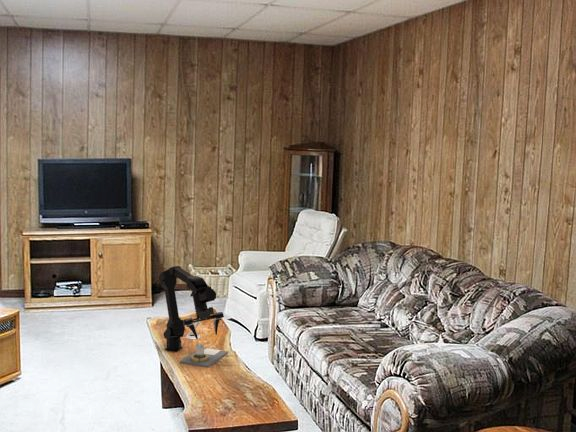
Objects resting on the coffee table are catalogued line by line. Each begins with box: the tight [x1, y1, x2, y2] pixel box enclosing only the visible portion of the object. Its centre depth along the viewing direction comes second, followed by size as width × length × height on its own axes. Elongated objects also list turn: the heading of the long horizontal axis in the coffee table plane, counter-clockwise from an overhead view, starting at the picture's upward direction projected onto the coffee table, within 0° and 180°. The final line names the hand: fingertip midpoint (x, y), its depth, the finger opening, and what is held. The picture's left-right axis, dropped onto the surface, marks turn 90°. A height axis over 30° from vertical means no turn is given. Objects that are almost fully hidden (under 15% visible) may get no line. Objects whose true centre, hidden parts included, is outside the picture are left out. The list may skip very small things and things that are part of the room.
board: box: [179, 347, 229, 368], centre depth 330 cm, size 15×22×1 cm
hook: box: [185, 321, 202, 340], centre depth 362 cm, size 8×12×7 cm
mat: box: [204, 348, 222, 356], centre depth 336 cm, size 8×8×1 cm
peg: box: [195, 343, 205, 358], centre depth 325 cm, size 4×4×7 cm
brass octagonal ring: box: [190, 354, 209, 362], centre depth 325 cm, size 8×8×2 cm
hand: (206, 337), depth 320 cm, fingers open, 9 cm apart
